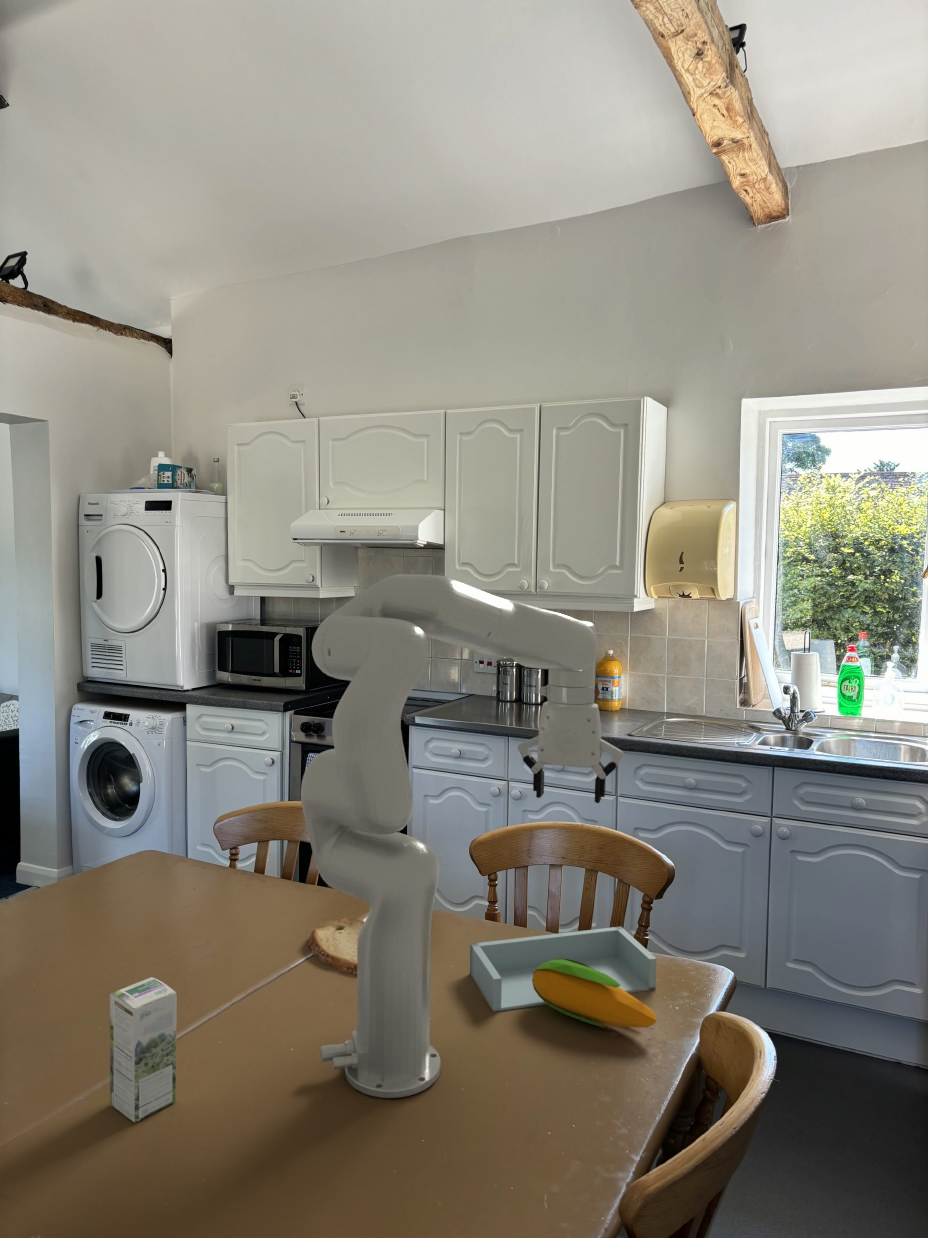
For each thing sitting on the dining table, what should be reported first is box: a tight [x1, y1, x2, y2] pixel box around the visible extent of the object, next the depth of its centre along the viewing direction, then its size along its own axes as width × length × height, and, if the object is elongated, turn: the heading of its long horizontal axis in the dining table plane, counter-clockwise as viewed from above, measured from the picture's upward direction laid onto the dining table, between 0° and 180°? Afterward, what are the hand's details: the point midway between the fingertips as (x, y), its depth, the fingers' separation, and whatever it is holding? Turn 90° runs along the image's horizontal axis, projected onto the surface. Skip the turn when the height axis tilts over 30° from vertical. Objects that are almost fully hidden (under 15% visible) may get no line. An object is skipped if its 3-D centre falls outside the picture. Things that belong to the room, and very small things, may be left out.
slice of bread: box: [308, 916, 365, 975], centre depth 149 cm, size 18×18×4 cm
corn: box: [532, 959, 657, 1029], centre depth 127 cm, size 7×8×20 cm
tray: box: [469, 926, 657, 1013], centre depth 139 cm, size 27×12×5 cm, turn 106°
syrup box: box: [109, 977, 178, 1124], centre depth 106 cm, size 6×6×14 cm
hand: (568, 798), depth 143 cm, fingers open, 9 cm apart
